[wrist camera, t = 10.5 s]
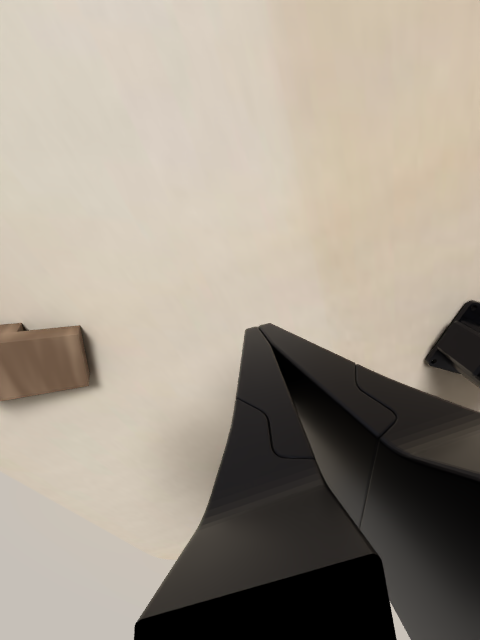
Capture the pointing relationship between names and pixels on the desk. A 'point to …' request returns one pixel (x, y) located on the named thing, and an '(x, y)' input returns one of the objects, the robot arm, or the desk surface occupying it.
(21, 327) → the domino
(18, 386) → the domino
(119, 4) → the desk surface
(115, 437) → the desk surface
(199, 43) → the desk surface
